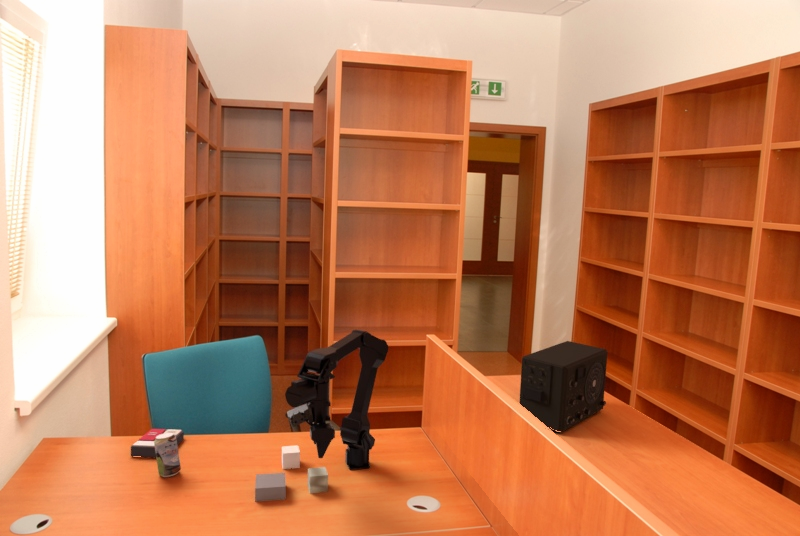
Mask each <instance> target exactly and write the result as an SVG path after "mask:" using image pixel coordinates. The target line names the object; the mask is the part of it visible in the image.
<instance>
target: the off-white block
mask: <svg viewBox="0 0 800 536" xmlns="http://www.w3.org/2000/svg"><path fill="white" fill-rule="evenodd" d="M300 466H301V451H300V447H299V445H285V446H281V467H282V470H292V469H301V467H300ZM291 468H292V469H291Z"/></svg>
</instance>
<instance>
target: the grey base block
mask: <svg viewBox="0 0 800 536" xmlns="http://www.w3.org/2000/svg"><path fill="white" fill-rule="evenodd" d="M254 484H255V485H254V490H255V491H254V502H267V501H268V502H269V501H279V500H280V501H281V500H286V497H287V496H286V495H287V493H286V491H287V490H286V489H287V488H286V486H287V485H286V484H287V483H286V472H273V473H259V474H255V483H254Z"/></svg>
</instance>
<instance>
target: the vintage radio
mask: <svg viewBox="0 0 800 536" xmlns="http://www.w3.org/2000/svg"><path fill="white" fill-rule="evenodd" d="M607 363H608V350H607V349H606V348H603V347H602V348H601V347H598V346H597V347H596V346H592V345H588V344H583V343H579V342H575V341H570V340H567V341H563V342H560V343H558V344H555V345H551V346H549V347H547V348H543V349H540V350H537V351H534V352H531V353H529V354H526V355H523V356H522V358H521V370H520V384H519V385H520V387H519V403H520V404H521V405H522V406H523V407H525V408H526V409H527V410H528V411H530V412H531V413H532V414H533V415H534V416H535V417H537V418H538V419H539V420H540V421H541V422H543V423H544V424H545V425H546V426H547V427H549V428H550V427H551V428H552V429H554V430H557V431H562V432H564V431H566V430H568V429H570V428H572V427H573V426H575V425H576V424H578V423H581V422H582V421H583V420H586V419H587V418H589V417H591V416H593V415H594V414H596V412H597V413H598V412H599V411H602V410H603V409H604V407H605V406H606V405H607V401H605V400H604V398H605V387H606V377H607V375H606V374H607ZM551 428H550V429H551ZM552 429H551V430H550V431H553V430H552ZM553 432H554V431H553Z"/></svg>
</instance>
